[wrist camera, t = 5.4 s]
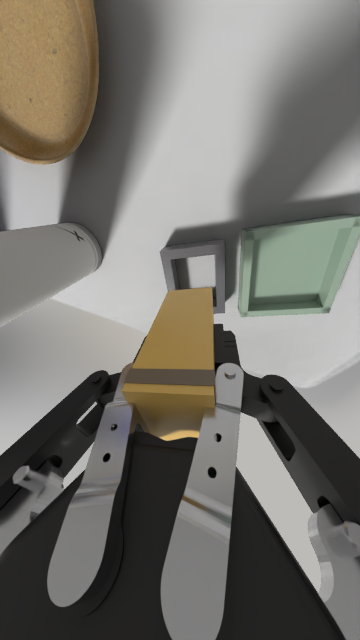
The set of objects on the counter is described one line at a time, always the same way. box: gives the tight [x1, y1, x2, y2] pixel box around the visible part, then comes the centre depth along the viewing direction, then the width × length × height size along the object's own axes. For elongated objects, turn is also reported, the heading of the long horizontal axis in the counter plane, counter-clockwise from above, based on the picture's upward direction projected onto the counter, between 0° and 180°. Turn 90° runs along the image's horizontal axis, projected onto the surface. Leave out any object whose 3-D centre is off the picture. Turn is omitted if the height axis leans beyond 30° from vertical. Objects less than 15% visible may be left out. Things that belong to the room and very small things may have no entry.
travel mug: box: [0, 223, 102, 327], centre depth 14 cm, size 6×7×20 cm
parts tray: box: [238, 214, 360, 317], centre depth 19 cm, size 10×10×2 cm
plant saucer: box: [0, 0, 99, 164], centre depth 13 cm, size 15×15×3 cm
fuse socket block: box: [160, 239, 225, 314], centre depth 21 cm, size 7×8×2 cm
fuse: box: [121, 287, 216, 441], centre depth 11 cm, size 4×5×9 cm
